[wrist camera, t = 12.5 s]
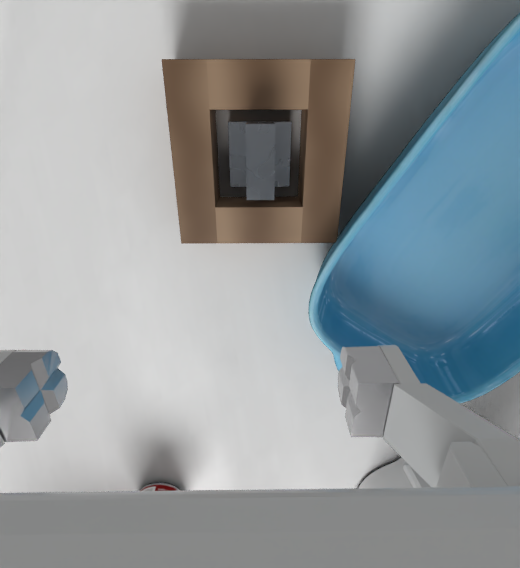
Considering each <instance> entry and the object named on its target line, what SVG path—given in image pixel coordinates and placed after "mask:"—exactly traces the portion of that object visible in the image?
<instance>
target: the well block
mask: <svg viewBox="0 0 520 568" xmlns="http://www.w3.org/2000/svg"><path fill="white" fill-rule="evenodd" d="M162 67H163V76H164V86H165V95H166V104H167V113H168V123H169V132H170V141H171V151H172V160H173V169H174V178H175V188H176V197H177V206H178V216H179V225H180V234H181V243H336V241H337V235H338V225H339V215H340V205H341V195H342V185H343V176H344V166H345V156H346V146H347V136H348V126H349V117H350V107H351V97H352V87H353V77H354V67H355V59H162ZM216 110H302V112H301V134H300V155H299V177H298V196H275V197H274V200H247V197H220V186H219V167H218V148H217V129H216Z"/></svg>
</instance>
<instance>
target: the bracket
mask: <svg viewBox="0 0 520 568" xmlns="http://www.w3.org/2000/svg"><path fill="white" fill-rule="evenodd" d="M291 124H292V122H290V121H238V122H228V132H229V158H230V185H231V187H246V192H247V200H274V189H275V187H289V179H290V151H291Z"/></svg>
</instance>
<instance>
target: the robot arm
mask: <svg viewBox="0 0 520 568" xmlns="http://www.w3.org/2000/svg"><path fill="white" fill-rule="evenodd" d="M340 360H341V363H342V366H343V367H342V368H341V369H340V370H339V373H338V391H339V397H340V401H341V404H342V405H343V406H344V407H346V413H345V418H346V422H347V425H348V428H349V432H350V435H351V437H383V439H384V440H385V441H386V442H387V443H388V444H389V445H390V446H391V447H392V448H393V449H394V450H395V451H396V452H397V453H398V454H399V455H400V456H401V458H400V459H399V460H397V461H395V462H393V463H391V464H389V465H386V466H384V467H382V468H380V469H378V470H376V471H374V472H373V473H371V474H370V475H369V476H368V477H366V478H365V479H364V480H363V482H362V483H361V484H360V486H359V487H358V488H354V489H276V490H193V491H117V492H41V493H0V568H520V440H519V439H517V438H516V437H514V436H512V435H511V434H509V433H507V432H506V431H504V430H502V429H501V428H499V427H497V426H496V425H494V424H492V423H491V422H489V421H488V420H486V419H484V418H483V417H481V416H479V415H478V414H476V413H474V412H473V411H471V410H469V409H468V408H466V407H464V406H463V405H461V404H459V403H458V402H456V401H454V400H453V399H451V398H450V397H448V396H446V395H445V394H443V393H441V392H440V391H438V390H436V389H435V388H433V387H431V386H430V385H428V384H426V383H420V381H419V380H418V378H417V376H416V375H415V373H414V371H413V370H412V368H411V367H410V365H409V363H408V362H407V360H406V359H405V357H404V355H403V354H402V352H401V350H400V349H399V347H398V346H396V345H378V346H356V347H342V349H341V355H340ZM60 363H61V361H60V358H59V356H58V353H57V352H55V351H53V350H0V447H1V446H2V445H4V444H5V442H16V441H37V440H38V439H39V438H40V436H41V435H42V433H43V432H44V430H45V429H46V427H47V426H48V424H49V423H50V421H51V418H50V414H51V413H52V412H54V411H55V410H57V409H59V408H60V406H61V405H62V403H63V402H64V400H65V397H66V394H67V390H68V386H67V379H66V376H65V374H64V373H63V372H62V371H60V370H59V369H58V367H59V365H60Z"/></svg>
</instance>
